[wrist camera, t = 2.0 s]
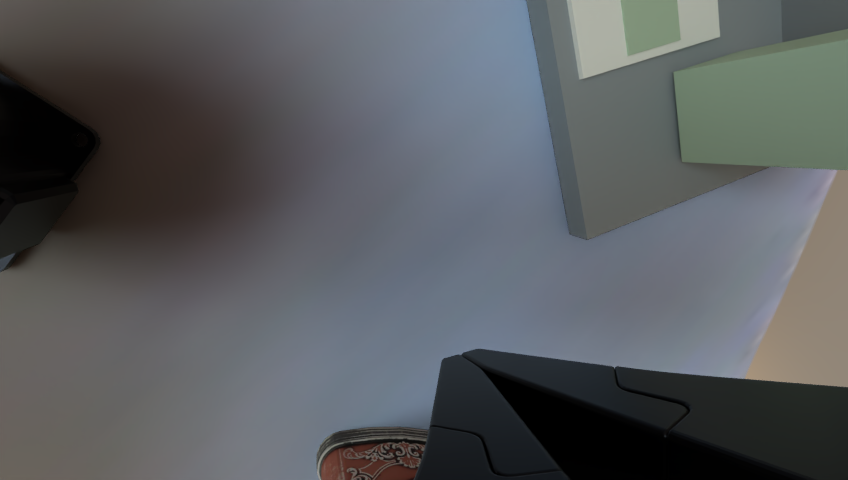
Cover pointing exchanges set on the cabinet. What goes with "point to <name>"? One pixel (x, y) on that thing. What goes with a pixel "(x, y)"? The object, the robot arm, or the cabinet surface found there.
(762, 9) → the switch board
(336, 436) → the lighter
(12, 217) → the robot arm
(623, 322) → the cabinet surface
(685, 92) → the sage block
